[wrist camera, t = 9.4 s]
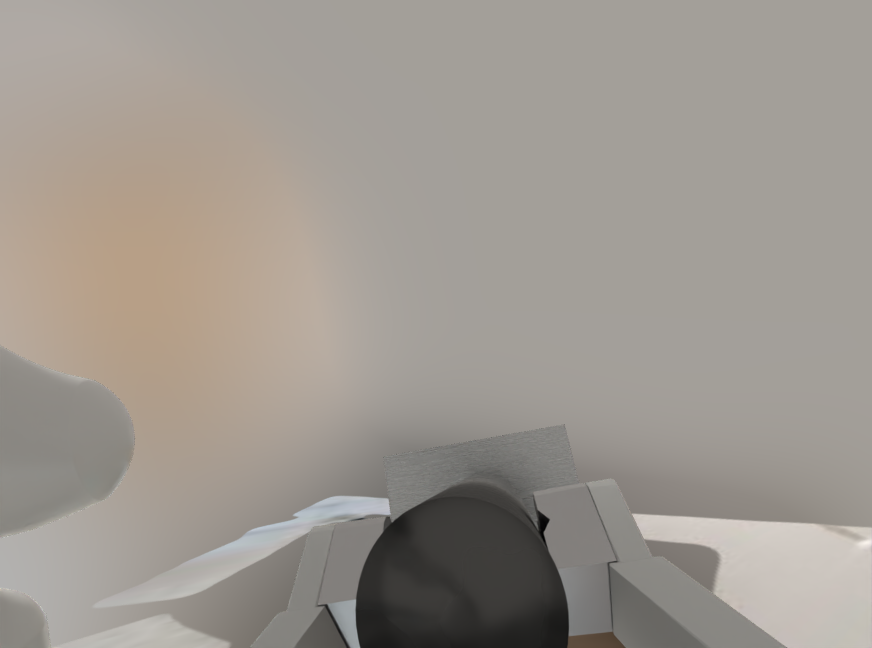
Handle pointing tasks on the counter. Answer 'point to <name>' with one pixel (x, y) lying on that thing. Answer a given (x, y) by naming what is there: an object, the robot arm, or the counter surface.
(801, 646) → the counter surface
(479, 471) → the mallet
